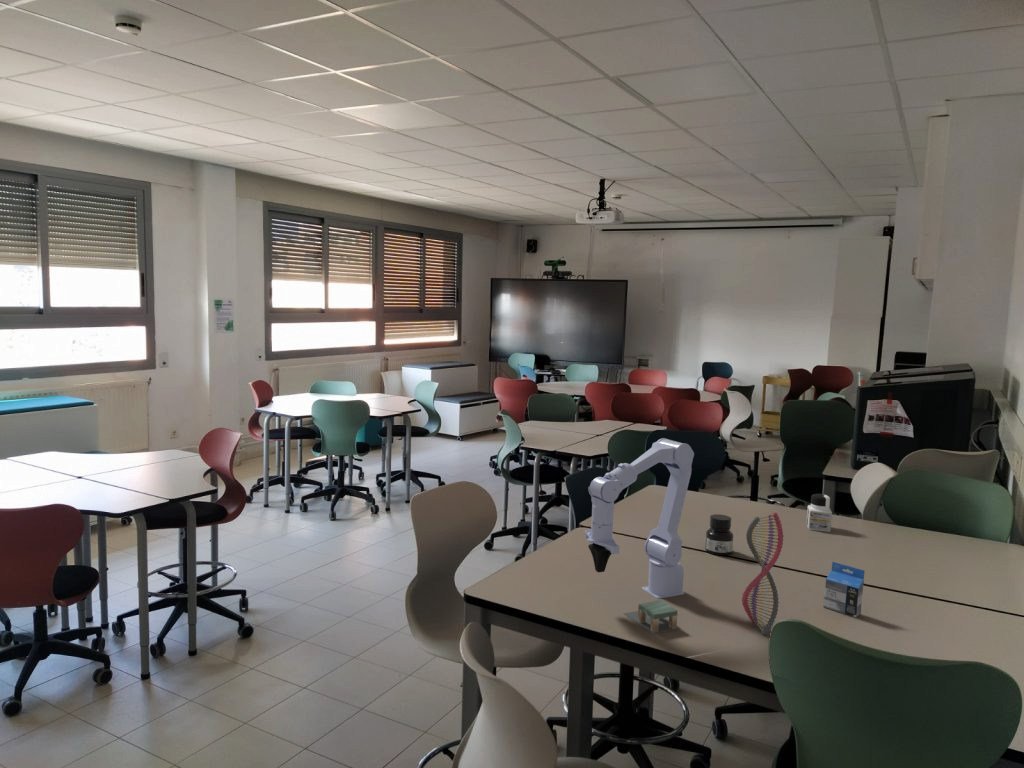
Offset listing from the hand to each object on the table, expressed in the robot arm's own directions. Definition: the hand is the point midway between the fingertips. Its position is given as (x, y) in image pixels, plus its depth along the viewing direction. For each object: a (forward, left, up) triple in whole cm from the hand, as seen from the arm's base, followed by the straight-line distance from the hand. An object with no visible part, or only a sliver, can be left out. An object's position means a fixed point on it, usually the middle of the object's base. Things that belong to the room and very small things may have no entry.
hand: (600, 571), depth 191 cm
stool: (-8, +12, -7) cm, 16 cm away
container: (-117, -32, -10) cm, 122 cm away
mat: (-8, +13, -10) cm, 18 cm away
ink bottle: (-62, -24, -10) cm, 67 cm away
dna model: (-32, +26, -10) cm, 42 cm away
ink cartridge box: (-62, +26, -10) cm, 68 cm away
